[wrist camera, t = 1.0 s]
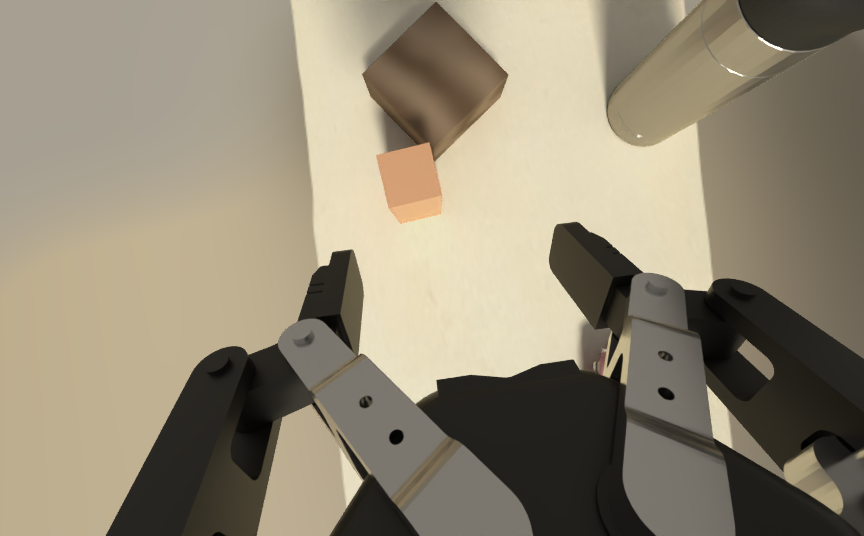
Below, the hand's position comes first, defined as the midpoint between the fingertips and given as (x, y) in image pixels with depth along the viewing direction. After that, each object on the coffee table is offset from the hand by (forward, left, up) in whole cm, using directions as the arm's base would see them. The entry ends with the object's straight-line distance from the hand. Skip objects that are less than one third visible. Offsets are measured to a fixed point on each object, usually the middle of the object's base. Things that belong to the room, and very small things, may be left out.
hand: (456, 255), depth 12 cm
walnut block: (-14, -17, -28) cm, 36 cm away
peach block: (-3, -9, -28) cm, 29 cm away
